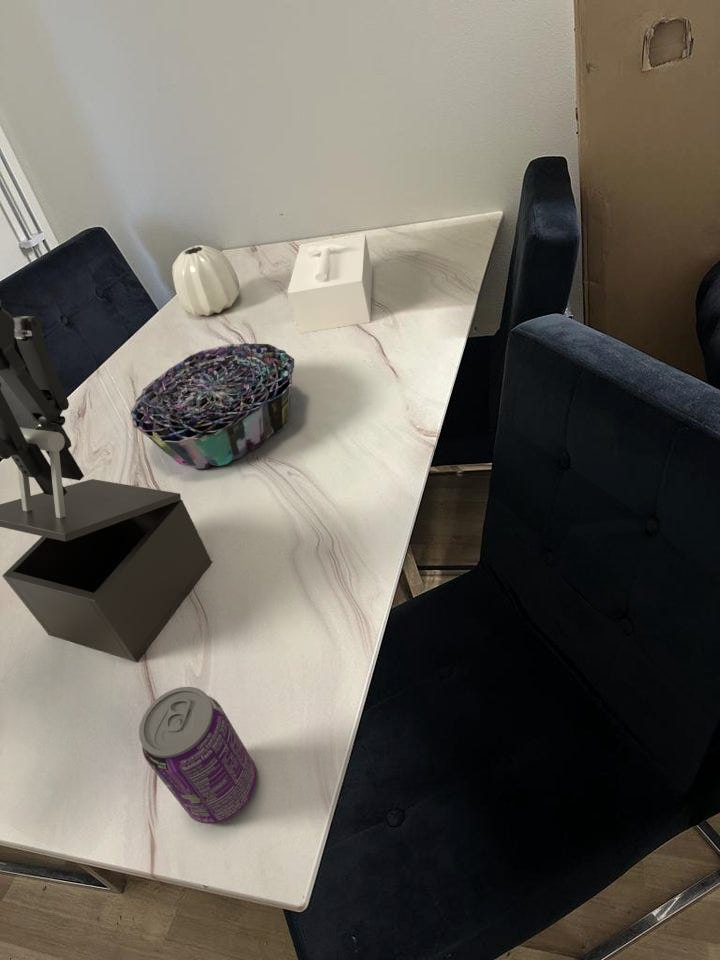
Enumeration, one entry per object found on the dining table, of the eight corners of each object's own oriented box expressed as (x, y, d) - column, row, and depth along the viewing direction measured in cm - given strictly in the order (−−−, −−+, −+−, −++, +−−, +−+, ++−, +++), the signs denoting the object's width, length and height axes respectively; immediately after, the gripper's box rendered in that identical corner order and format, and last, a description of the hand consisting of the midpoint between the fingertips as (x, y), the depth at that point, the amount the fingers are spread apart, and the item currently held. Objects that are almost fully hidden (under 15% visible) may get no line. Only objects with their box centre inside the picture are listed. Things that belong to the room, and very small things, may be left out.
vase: (185, 303, 155) (163, 247, 146) (243, 288, 155) (224, 231, 147) (183, 328, 144) (160, 269, 136) (245, 312, 144) (226, 252, 136)
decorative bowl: (338, 406, 111) (328, 352, 106) (227, 500, 94) (207, 442, 88) (229, 383, 125) (214, 334, 119) (114, 462, 108) (90, 409, 102)
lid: (65, 541, 64) (55, 442, 62) (-31, 520, 70) (-44, 428, 68) (181, 499, 79) (176, 418, 76) (92, 484, 85) (86, 408, 82)
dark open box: (137, 662, 75) (95, 601, 68) (48, 635, 81) (1, 575, 74) (212, 561, 86) (182, 499, 79) (128, 543, 92) (94, 484, 85)
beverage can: (194, 753, 65) (147, 684, 58) (264, 749, 64) (225, 678, 57) (176, 829, 60) (121, 764, 52) (252, 825, 59) (207, 758, 51)
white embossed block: (372, 270, 148) (363, 221, 141) (370, 322, 129) (359, 268, 122) (309, 281, 150) (297, 234, 144) (298, 334, 131) (283, 281, 124)
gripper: (-114, 323, 51) (39, 539, 65) (29, 242, 61) (133, 445, 75) (-169, 321, 54) (-12, 527, 69) (-25, 244, 64) (85, 439, 78)
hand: (64, 484), depth 72 cm, fingers closed on lid, 2 cm apart
